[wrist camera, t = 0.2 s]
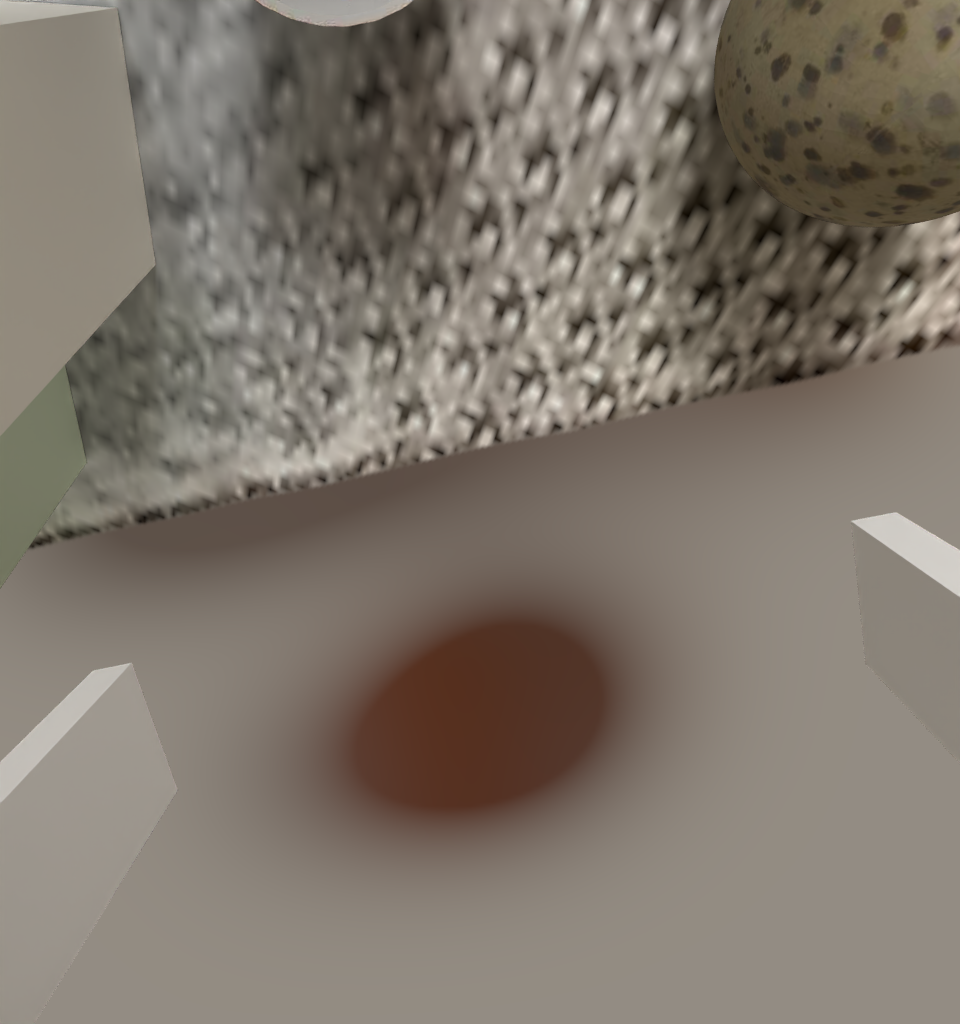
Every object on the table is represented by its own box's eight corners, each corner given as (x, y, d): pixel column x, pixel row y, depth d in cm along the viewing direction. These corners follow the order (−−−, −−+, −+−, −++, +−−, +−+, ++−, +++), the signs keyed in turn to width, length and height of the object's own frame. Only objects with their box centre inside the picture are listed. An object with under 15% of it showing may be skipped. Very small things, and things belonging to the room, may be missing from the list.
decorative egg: (774, 232, 39) (939, 362, 26) (624, 45, 34) (738, 93, 22) (989, 42, 35) (1305, 87, 22) (852, -197, 30) (1153, -311, 18)
